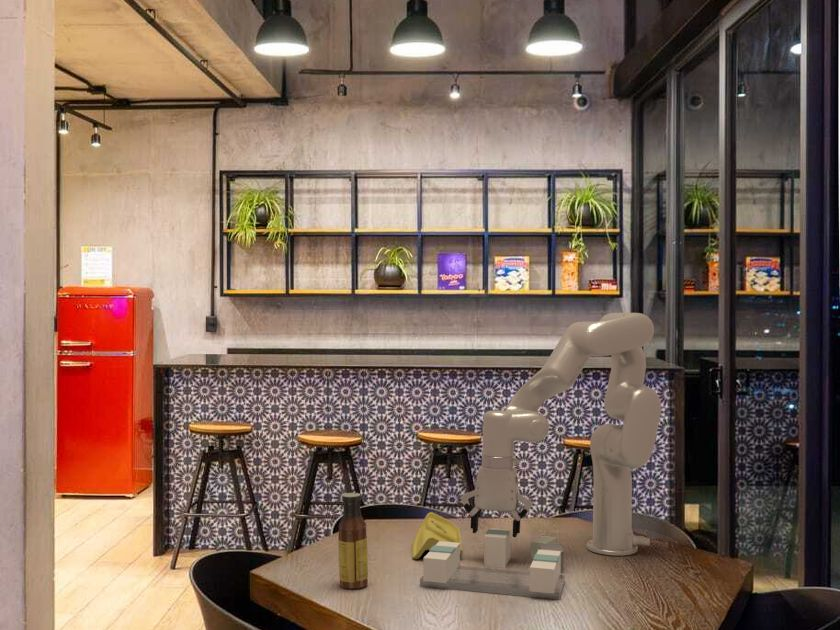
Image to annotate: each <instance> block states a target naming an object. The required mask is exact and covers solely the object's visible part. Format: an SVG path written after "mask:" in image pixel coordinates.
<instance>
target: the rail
mask: <svg viewBox="0 0 840 630" xmlns="http://www.w3.org/2000/svg"><path fill="white" fill-rule="evenodd" d="M565 576H566V575H565V574H564V575H563V574H560V577H559V580H558V583H557V586H556V589H555V592H554V594H553V593H543V592H532V591H530V571H518V570H511V569H498V568H486V567H473V566H464V565H459V567H458V568H457V569H456V571H455V572H454V573H453V574H452V576H451V577H450V578H449V580H448V581H447V582H446V583H439V582H428V581H423V575H422V577H421V578H420V579H419V586H420V587H425V588H436V589H446V590H456V591H467V592H468V591H469V592H476V593H477V592H478V593H484V594H485V593H486V594H497V595H499V594H500V595H505V596H516V595H518V596H519V597H526V596H529V597H528V598H536V597H539V599H547V598H548V599H549V600H557V599H558V601H559V600H560V598H561V596H560V595H562V592H563V589H564V585H565V582H566V581H565V580H566V577H565ZM518 596H517V597H518Z"/></svg>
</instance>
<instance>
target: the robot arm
mask: <svg viewBox="0 0 840 630" xmlns="http://www.w3.org/2000/svg"><path fill="white" fill-rule="evenodd" d="M654 334H655V327H654V323H653V321H652V319H651V318H650V316H648V315H646V314H644V313H642V312H641V313H640V312H611V313H606V314H605V315H604V316H602V317H601V318H600V320H599V321H577V322H574V323H572V324H571V325H569V326H568V327H567V329H565V331H564V333H563V335H562V336H561V337H560V339H559V340H558V343H557V344H556V346H555V347H554V349H553V351H552V352H551V354H550V355H549V357H548V358H547V360H546V361H545V362H544V365H543V366H542V367H541V369H540V370H539V371H537V372H536V373H535V374H533V376H531V377H530V378H529V379H528V380H527V381H526V382H525V383H524V384H523V385H522V386H521V387H520V388H519V389H518V390H517V391H516V392H515V393H514V395H513V396H512V398H511V400H510V402H509V403H508V405H507V406H506V408H505V410H498V409H496V410H495V409H494V410H488V411H486V412H485V413H484V414H483V415H484V416H483V422H482V424H483V426H482V428H483V429H482V454H481V465H480V466H479V467H478V470H477V471H478V472H477V475H476V480H475V482H476V483H475V489H474V490H472V491H471V490H470V492H467V493H465V494H462V495H460V500H461V503H462V505H463V508H464V509H465V511H467V512H468V515H469V516H470V529H472V534H476V533H477V532H478V530H479V514H478V512H479V511H480V510H484V511H492V512H503V513H506V512H507V513H510V514H511V516H512V518H514V519H513V520H512V534H511V535H512V536H511V537H513V538H515V539H516V538H517V536H518V534H520V532H521V520H522V519H523V518H524V517H525V516H526V515H527V514H528V512H529V511H530V509H531V507H532V506H533V501H532V500H530V499H528V498H526V497H525V496H523V495H522V494H520V493H519V476H518V470H517V468H514V467H515V466H519V465H520V459H517V458H515V455H514V452H515V442H524V443H532V444H534V443H538V442H541V441H543V440H544V439H545V438H546V437H547V436H548V434H549V432H550V423H549V421H548V419H547V418H546V417H545V416H544V415H543V414H542V413H540V412H538V409H539V408H541V406H542V405H543V404H544V403H545V402H546V401H547V400H549V399H551V398H553V397H554V396H557V395H559V394H560V393H563V392H565V391H567V390H569V389H570V388H572V387H573V385H574V384H575V382H576V380H577V379H578V378H579V376H580V374H581V373H582V371H583V369H584V367H585V366H586V364H587V363H588V361H589V359H590V358H591V357H596V358H597V357H599V358H602V357H608V356H611V368H610V374H609V378H608V382H607V383H608V384H607V387H606V393H605V396H604V412H606V413H607V415H608V416H609V417H611V418H613V419H616V420H619V421H623V424H622V425H619V424H614V423H605V424H601V425H599V426H598V427H597V428H595V429H594V430H593V432H592V434H591V437H590V440H589V446H590V447H589V449H590V450H589V451H590V455H591V456H590V457H591V461H592V468H593V470H592V472H593V489H592V492H593V494H592V495H593V496H592V497H593V499H592V500H593V501H592V502H593V504H592V507H593V508H592V510H593V511H592V539H589V540H588V541H587V542H586V548H587V550H588V551H590V552H593V553H596V554H599V555H606V556H615V557H616V556H619V557H620V556H622V557H623V556H630V555H634V554H636V553H637V552H638V550H639V549H638V546H639V545H640V546H644V547H650V546H651V539H650V538H649V537H645V536H643V535H640V536H638V535H636V534H634V530H633V529H632V523H633V522H632V515H633V514H632V510H633V509H632V507H633V506H632V503H633V500H632V499H633V479H632V472H631V469H639V468H642V467H643V466H645V465H646V464H647V463H648V461H650V459H651V456H652V455H653V451H654V447H655V443H656V438H657V435H658V434H657V433H658V430H659V424H660V420H661V414H662V403H661V399H660V396H659V394H658V393H657V392H656V390H655V389H653V388H651V387H649V386H647V385H644V382H645V376H646V370H647V361H646V360H647V359H646V355H645V352H644V350H643V348H642V347H645V346H646V345H647V344H649V343H650V342H651V340H652V339H653V338H654ZM470 498H474V507H473V506H472V505H471V503H469V499H470ZM519 502H520V503H522V504H523V505H524V507H523V508H522V510H521V511H520V510H519V509H518V507H519Z"/></svg>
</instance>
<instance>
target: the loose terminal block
mask: <svg viewBox="0 0 840 630" xmlns="http://www.w3.org/2000/svg"><path fill="white" fill-rule="evenodd" d="M540 544H550V545H558V537H556V536H549V535H544V534H541V535H540V536H538V537H536V538H534V539H533V540H531V541H530V558H533V557H534V556H535V554H537V551H538V549H540Z"/></svg>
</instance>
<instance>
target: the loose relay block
mask: <svg viewBox="0 0 840 630" xmlns="http://www.w3.org/2000/svg"><path fill="white" fill-rule="evenodd" d="M540 550H552V551H561V574H564V550H563V547H562V544H557V545H550V544H540Z"/></svg>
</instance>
